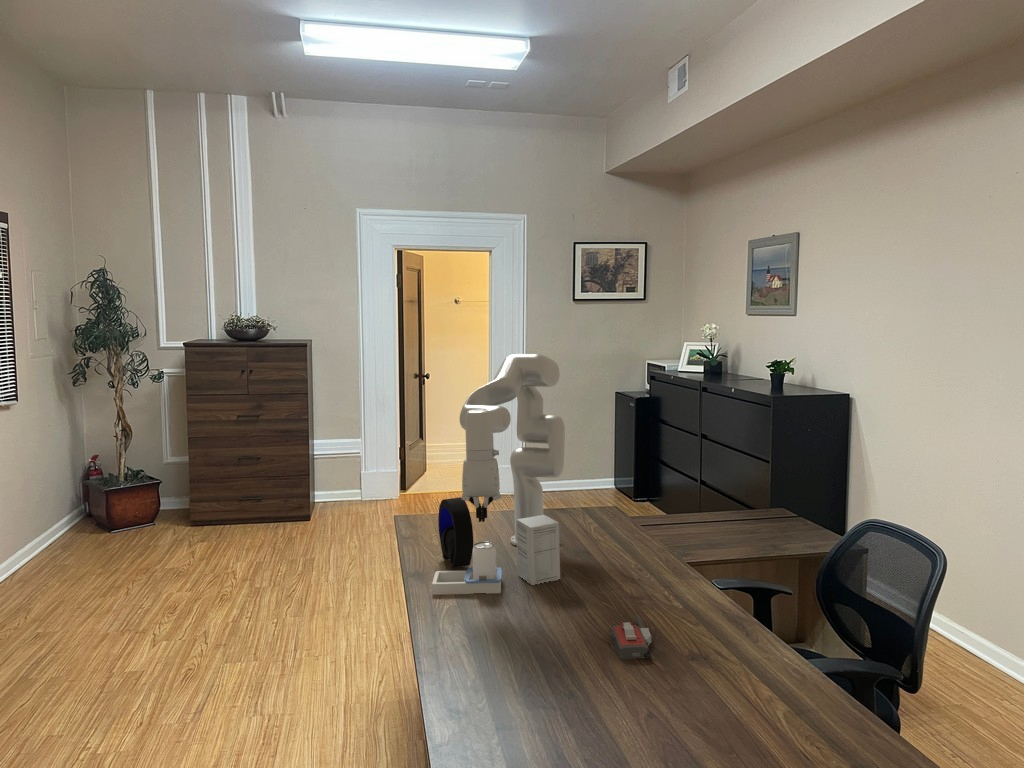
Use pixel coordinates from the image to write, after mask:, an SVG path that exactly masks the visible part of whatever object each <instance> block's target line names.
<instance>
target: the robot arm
mask: <svg viewBox="0 0 1024 768" xmlns="http://www.w3.org/2000/svg"><path fill="white" fill-rule="evenodd" d="M560 374H561V373H560V367H559V365H558V363H557V362H556V361H555V360H553V359H552V358H550V357H548V356H546V355H544V354H540V353H516V354H515V353H513V354H510V355H507V356H506V357H505V358H504V359H503V361H502V363H501V365H500V366H499V368H498V371H497V372H496V374H495V376H494V378H493V379H492V381H490V382H488V383H486V384H484V385H482V386H480V387H478V388H477V389H474V391H473V392H472V393H470V394H469V396H468V397H467V398H466V400H465V402H464V403H463V405H462V407H461V410H460V413H459V425H460V426H461V428H462V429H463V430H464V431H465V456H466V458H464V460H463V464H462V476H461V478H462V479H461V484H462V485H461V486H462V487H461V490H462V495H461V498H462V500H465V502H470V503H471V504H472V505H473V506H474V508H475V518H476V519H478V522H479V523H481V522H483V523H485V521H486V519H488V506H489V505H490V504H491V503H492V502H493V501H498V500H501V498H502V497H501V493H500V489H501V488H500V484H501V483H500V472H499V470H500V469H499V464H498V460H497V458H495V457H497V456H499V455H500V450H498V449H495V448H494V447H495V446H494V434H495V433H496V434H499V433H502V432H505V431H506V430H508V428H509V426H510V424H511V420H512V419H511V413H510V411H509V410H508V409H507V408H506V407H504V406H502V405H503V404H505V403H509V402H511V401H513V400H515V399H516V400H517V409H516V411H517V412H516V438H517V439H518V440H519V441H520V442H521V443H527V444H544V445H548V447H535V446H532V447H531V446H522V447H521V446H520V447H517V448H516V449H514V450H513V451H512V452H511V454H510V458H509V462H510V469H511V474H512V481H513V503H514V504H513V505H514V507H513V508H514V535H512V536H511V537H510V543H511V544H512V545H513V546H515V545H516V547H517V525H516V520H517V519H523V518H528V517H534V516H540V515H544V491H543V490H544V489H543V487H542V484H541V482H540V481H539V479H538V478H545V479H546V478H548V479H550V478H551V479H555V478H560V477H561V476H562V474H563V471H564V466H565V465H564V464H565V446H566V443H565V442H566V427H565V422H564V420H563V418H562V417H561V416H559V415H557V414H544V398H543V396H542V394H541V392H540V391H539V389H538V388H537V387H539V388H541V387H543V388H547V387H548V388H553V387H554V386H556V385H557V383H558V382H559V380H560ZM479 497H480V498H481V497H482V498H483V503H482V504H481V502H480V498H479Z"/></svg>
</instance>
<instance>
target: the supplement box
mask: <svg viewBox="0 0 1024 768" xmlns="http://www.w3.org/2000/svg"><path fill="white" fill-rule="evenodd" d="M559 524H560V523H559V522H558V521H557V520H555V519H553V518H551V517H549V516H547V515H546V514H543V515H540V516H534V517H528V518H523V519H517V520H516V525H517V546H516V551H517V554H516V555H517V570H518V571H517V576H518V577H520V578H521V579H522V578H523V579H522V580H524V581H525V580H526V581H527V583H528V584H529V583H530V584H531V585H530V584H529V585H530V586H532V585H533V586H536V585H535V584H537V585H540V583H542V584H545V583H544V582H546V583H550V582H549V581H551V582H555V581H559V579H560V580H561V559H560V558H561V556H560V555H561V554H560V553H561V551H560V525H559ZM526 581H525V582H526Z"/></svg>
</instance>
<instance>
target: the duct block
mask: <svg viewBox="0 0 1024 768" xmlns="http://www.w3.org/2000/svg"><path fill="white" fill-rule="evenodd" d="M502 573H503V569H502V568H501V567H496V576H497V579H487V576H479V579H477V580H473V567H468V568H467V569H466V570H436V571H435V572H434V577H433V579H432V583H431V591H432V592H431V593H432V595H435V596H436V595H441V596H442V595H473V593H486V594H501V593H502V576H503V575H502ZM470 593H471V594H470Z"/></svg>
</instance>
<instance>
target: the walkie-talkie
mask: <svg viewBox="0 0 1024 768" xmlns="http://www.w3.org/2000/svg"><path fill="white" fill-rule="evenodd" d="M635 622H636V623H637V625H636V624H632V622H629V621H628V622H627V621H626V622H621V624H620V625H617V624H616V625H614V626H612V627H611V631H610V635H611V639H612V638H613V639H612V641H614V642H613V644H615V645H614V647H615V646H616V647H615V649H617V650H616V652H617V655H619V656H618V657H620V658H622V659H621V660H631V659H630V658H643V657H644V658H647V659H650V658H651V657H652V652H651V651H650V647H649V646H650V645H651V644H652V634H651V632H650V628H649V627H645V626H644V624H643V622H642V620H641V618H640V616H639V615H636V616H635ZM650 643H651V644H650ZM649 644H650V645H649ZM620 658H619V659H620ZM627 658H628V659H627Z"/></svg>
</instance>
